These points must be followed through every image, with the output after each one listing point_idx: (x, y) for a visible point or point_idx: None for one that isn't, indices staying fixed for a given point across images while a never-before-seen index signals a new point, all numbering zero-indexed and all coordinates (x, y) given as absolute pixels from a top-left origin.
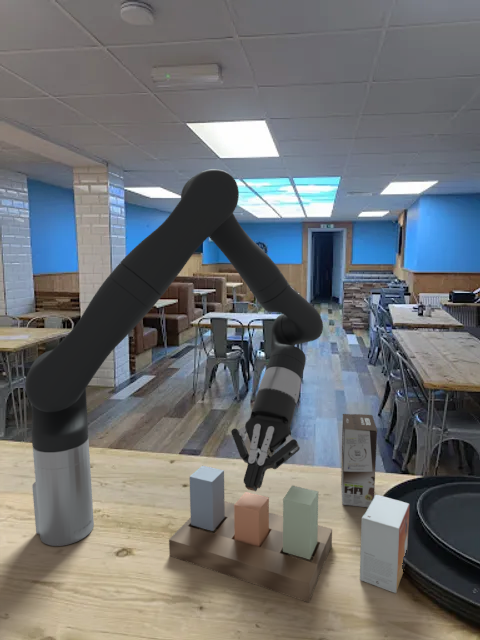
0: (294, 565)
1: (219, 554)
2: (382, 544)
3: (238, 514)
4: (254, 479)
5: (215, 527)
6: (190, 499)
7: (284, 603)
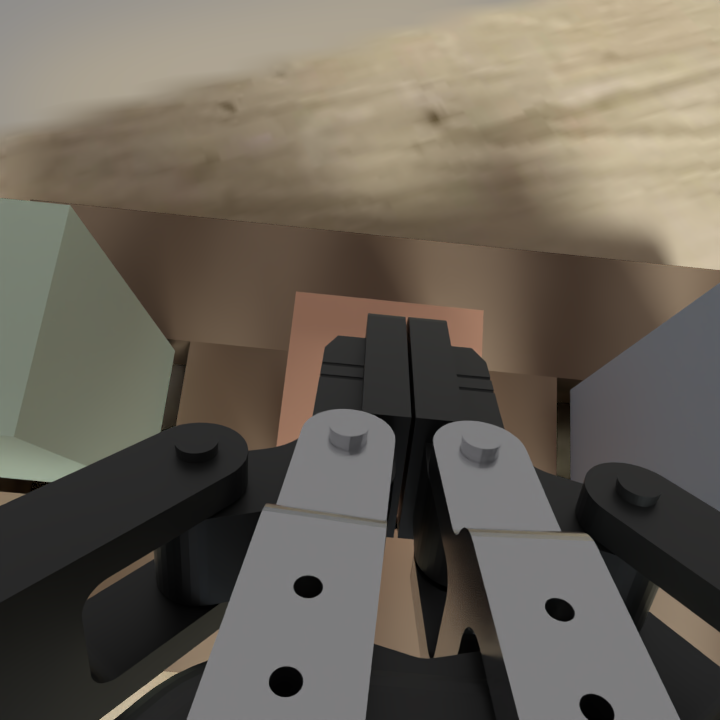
0: None
1: (461, 249)
2: None
3: None
4: (371, 335)
5: (572, 418)
6: None
7: None
